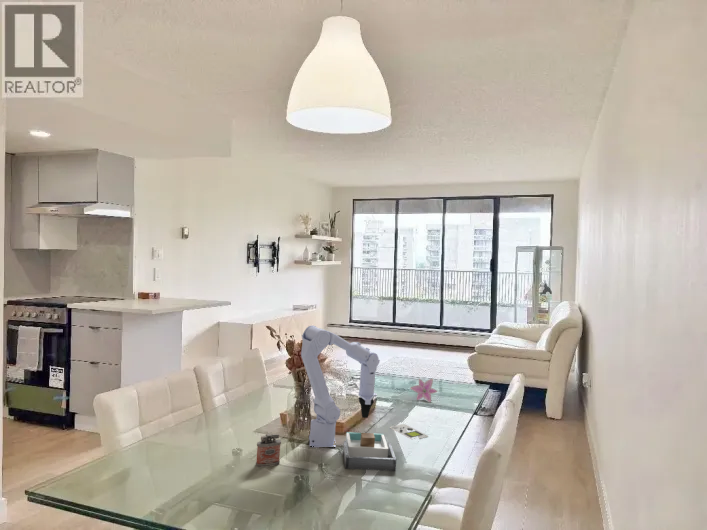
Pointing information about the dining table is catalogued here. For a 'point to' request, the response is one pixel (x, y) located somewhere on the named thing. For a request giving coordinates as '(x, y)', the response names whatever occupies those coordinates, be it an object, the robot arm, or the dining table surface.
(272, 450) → the lighter
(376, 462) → the dock
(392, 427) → the handheld gaming device
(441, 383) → the dining table surface
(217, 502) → the dining table surface
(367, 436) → the walnut block
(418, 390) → the lily
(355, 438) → the tray
